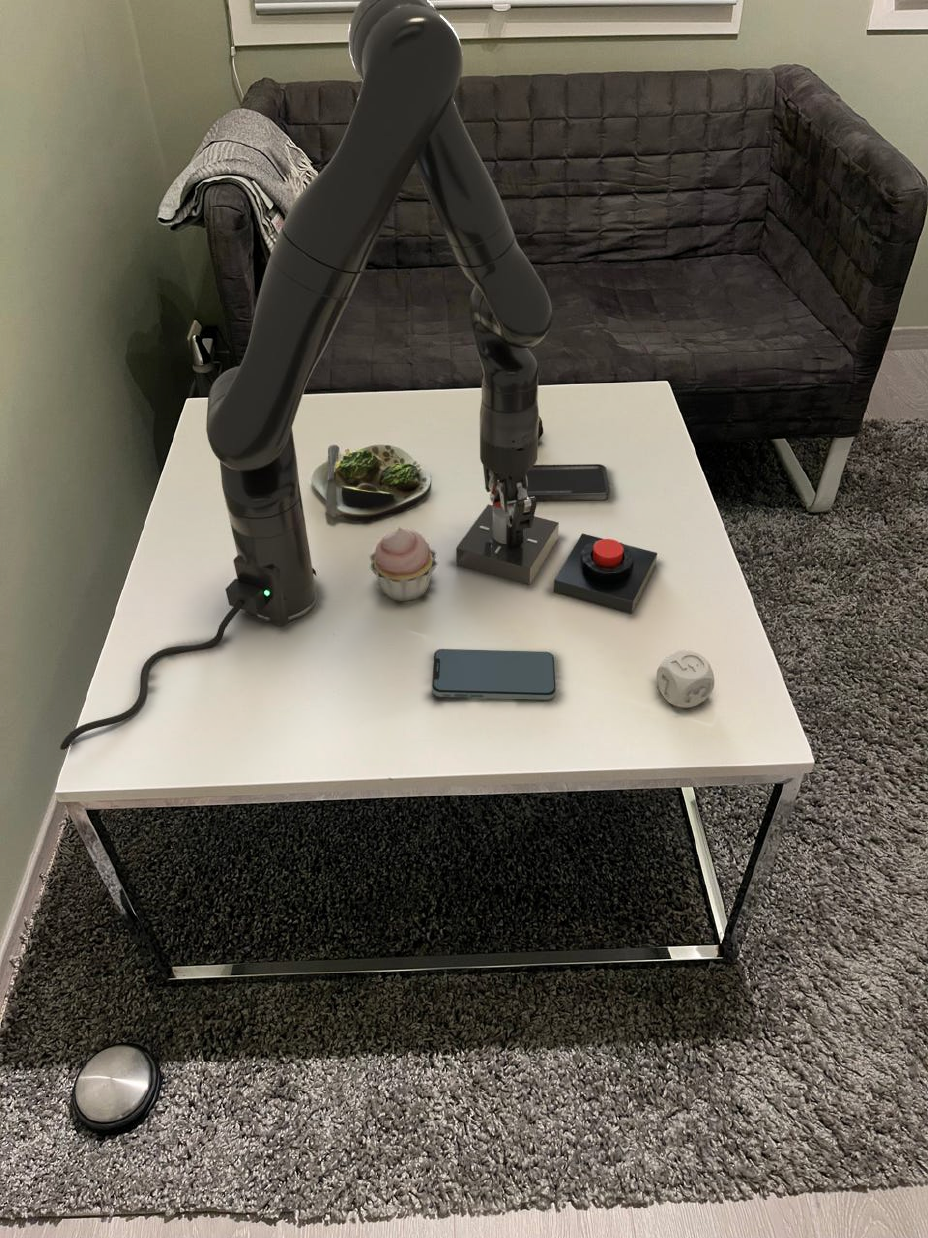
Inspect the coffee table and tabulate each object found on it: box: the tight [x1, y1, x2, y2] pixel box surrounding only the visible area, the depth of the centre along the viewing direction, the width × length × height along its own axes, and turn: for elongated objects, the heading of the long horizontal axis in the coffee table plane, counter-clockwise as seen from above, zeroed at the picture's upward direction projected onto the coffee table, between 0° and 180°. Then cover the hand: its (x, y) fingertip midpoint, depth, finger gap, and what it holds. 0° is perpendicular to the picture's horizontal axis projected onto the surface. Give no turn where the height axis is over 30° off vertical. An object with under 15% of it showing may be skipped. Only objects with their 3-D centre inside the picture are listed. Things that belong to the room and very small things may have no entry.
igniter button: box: [593, 538, 623, 567], centre depth 136 cm, size 4×4×2 cm
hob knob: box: [492, 500, 524, 544], centre depth 140 cm, size 4×4×5 cm
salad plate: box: [310, 443, 433, 522], centre depth 155 cm, size 19×18×5 cm
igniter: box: [553, 533, 658, 615], centre depth 138 cm, size 11×11×4 cm
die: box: [656, 649, 715, 709], centre depth 122 cm, size 5×5×5 cm
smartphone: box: [431, 648, 557, 701], centre depth 125 cm, size 8×2×15 cm
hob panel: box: [455, 503, 560, 586], centre depth 142 cm, size 11×11×3 cm
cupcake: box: [368, 527, 439, 602], centre depth 135 cm, size 9×9×10 cm
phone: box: [516, 463, 611, 502], centre depth 154 cm, size 8×1×15 cm
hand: (507, 533), depth 141 cm, fingers closed on hob knob, 4 cm apart
